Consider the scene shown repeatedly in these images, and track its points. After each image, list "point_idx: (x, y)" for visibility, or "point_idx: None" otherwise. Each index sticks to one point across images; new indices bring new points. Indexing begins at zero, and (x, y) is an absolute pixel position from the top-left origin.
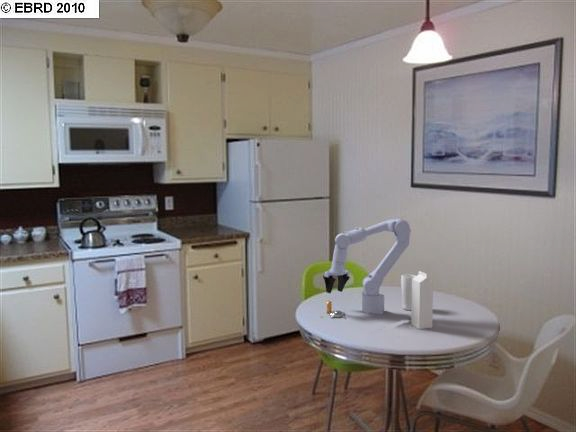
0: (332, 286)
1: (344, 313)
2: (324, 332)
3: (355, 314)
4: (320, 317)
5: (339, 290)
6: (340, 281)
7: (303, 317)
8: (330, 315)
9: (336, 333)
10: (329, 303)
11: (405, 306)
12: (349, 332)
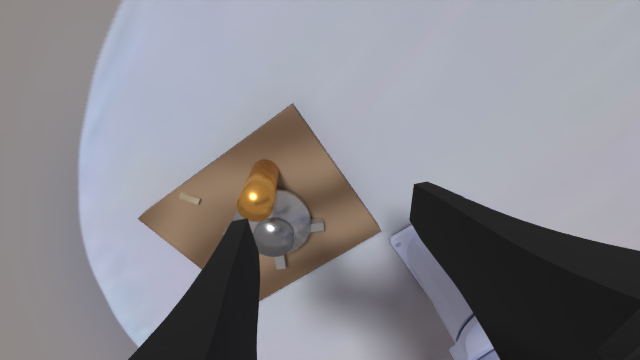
0: (254, 339)
1: (320, 227)
2: (128, 297)
3: (387, 216)
4: (179, 197)
5: (415, 206)
6: (492, 276)
7: (114, 90)
8: (234, 219)
9: None
10: (248, 215)
11: None
12: None
